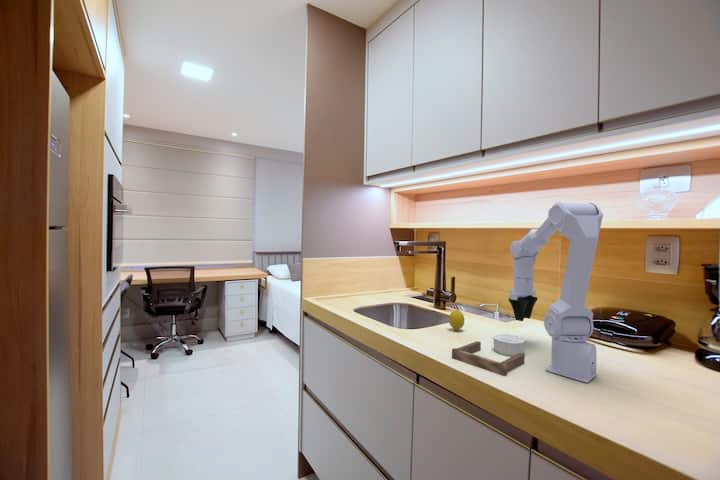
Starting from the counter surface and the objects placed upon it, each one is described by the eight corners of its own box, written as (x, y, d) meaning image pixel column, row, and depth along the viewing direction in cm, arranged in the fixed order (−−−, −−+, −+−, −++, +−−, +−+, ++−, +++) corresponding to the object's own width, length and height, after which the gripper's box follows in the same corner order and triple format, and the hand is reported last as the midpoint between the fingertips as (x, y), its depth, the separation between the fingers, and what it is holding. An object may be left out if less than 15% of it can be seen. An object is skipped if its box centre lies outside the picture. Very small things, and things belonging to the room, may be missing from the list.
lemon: (462, 328, 123) (462, 308, 123) (465, 332, 117) (465, 311, 117) (447, 328, 124) (448, 307, 124) (450, 332, 118) (450, 310, 118)
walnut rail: (526, 363, 89) (526, 354, 89) (504, 375, 81) (504, 365, 81) (475, 348, 101) (475, 340, 101) (451, 357, 93) (452, 349, 93)
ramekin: (516, 347, 102) (517, 334, 102) (529, 357, 94) (529, 343, 94) (488, 346, 103) (488, 333, 103) (498, 356, 94) (498, 342, 94)
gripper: (520, 275, 112) (520, 313, 112) (500, 278, 103) (500, 320, 103) (542, 277, 107) (542, 317, 107) (523, 280, 98) (522, 324, 98)
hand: (523, 319), depth 105 cm, fingers open, 5 cm apart
